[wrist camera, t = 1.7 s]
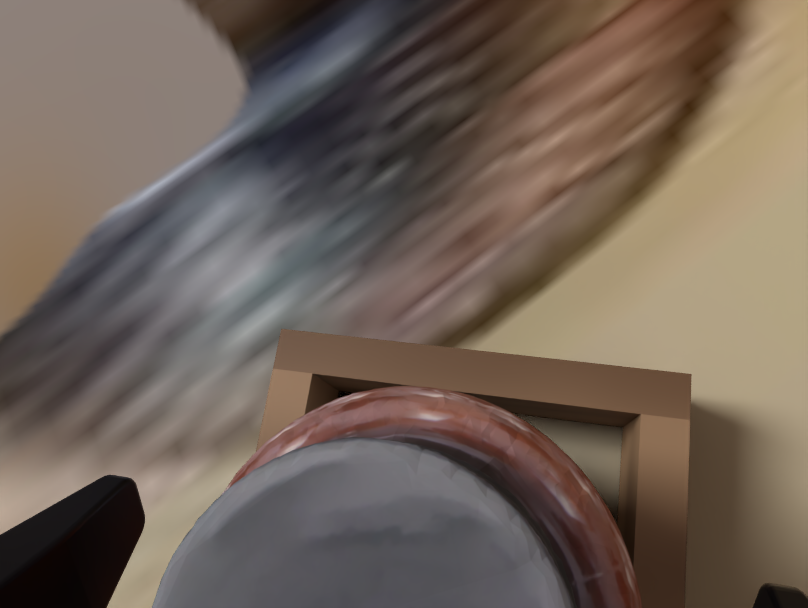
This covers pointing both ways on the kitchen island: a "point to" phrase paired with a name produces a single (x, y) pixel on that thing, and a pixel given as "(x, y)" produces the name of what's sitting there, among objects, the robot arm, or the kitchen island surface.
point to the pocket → (529, 395)
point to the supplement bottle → (405, 516)
